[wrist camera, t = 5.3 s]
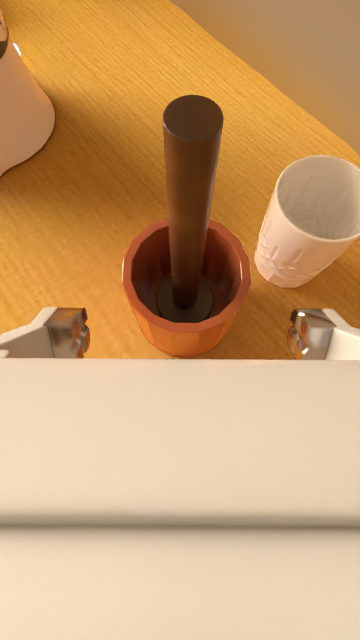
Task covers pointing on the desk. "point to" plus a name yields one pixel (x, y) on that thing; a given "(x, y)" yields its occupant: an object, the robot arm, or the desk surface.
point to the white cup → (309, 220)
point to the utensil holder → (217, 270)
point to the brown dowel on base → (189, 204)
